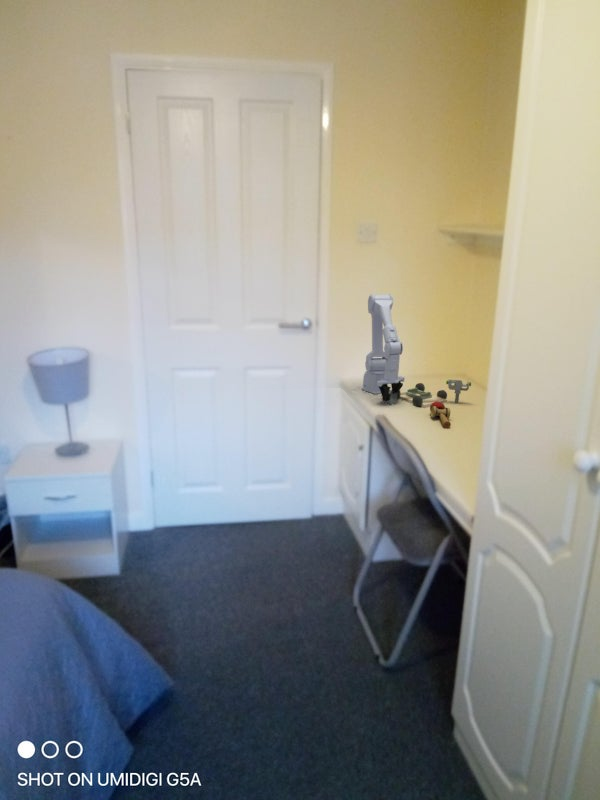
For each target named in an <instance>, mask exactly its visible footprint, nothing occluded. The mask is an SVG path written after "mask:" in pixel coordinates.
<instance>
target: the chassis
mask: <svg viewBox="0 0 600 800" xmlns="http://www.w3.org/2000/svg"><path fill="white" fill-rule="evenodd" d="M425 390H426V387H425V384H423V383H422V382H420V383H417V384H415V386H414V387H413V388H409V389H405V390H400V391H399V393H398V396H397V399H399V400H401V399H402V401H404V400H405V401H404V402H407V401H408V403H410V402H411V403H410V404H413V406H414V407H422V408H423V409H425V408H430V406H431V404H432V403H433V402H436V401H439V402H442V403H443V404H445V402H446V403H447V402H448V401H447V398H448V393H447V391H446V390H444V389H441V390H438V391H437V392H436V395H433V394H432V393H431V392H430V391H428V392H426V391H425ZM391 391H392V389H391Z"/></svg>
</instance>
